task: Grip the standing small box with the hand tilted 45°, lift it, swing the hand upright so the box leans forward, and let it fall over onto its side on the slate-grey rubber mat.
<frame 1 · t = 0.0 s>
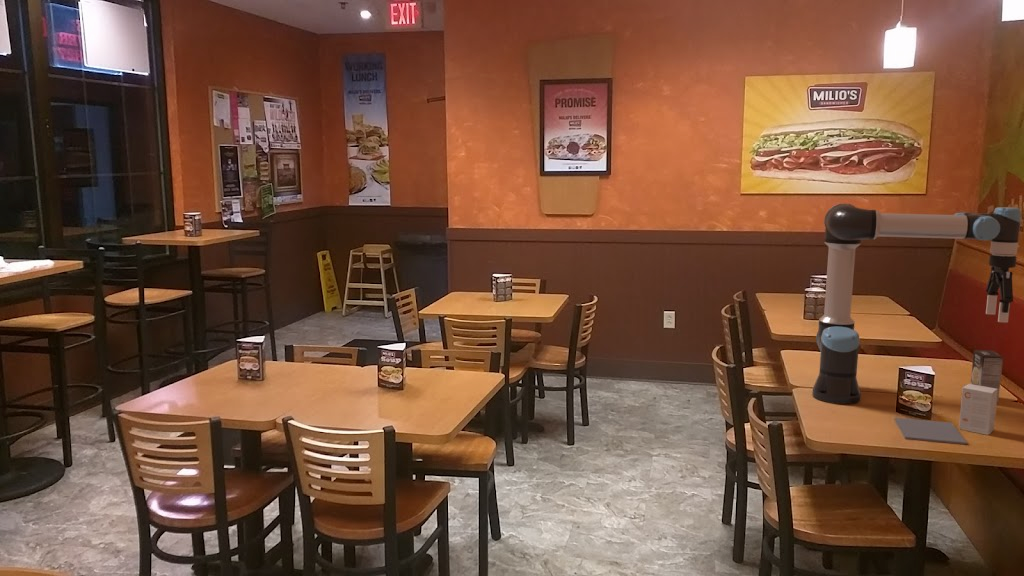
hand: (996, 318, 262), 28 cm above the table, tool pointing down, fingers open, 13 cm apart
small box: (976, 430, 237), on the table
slate mat: (928, 431, 235), on the table
coffee box: (983, 399, 267), on the table
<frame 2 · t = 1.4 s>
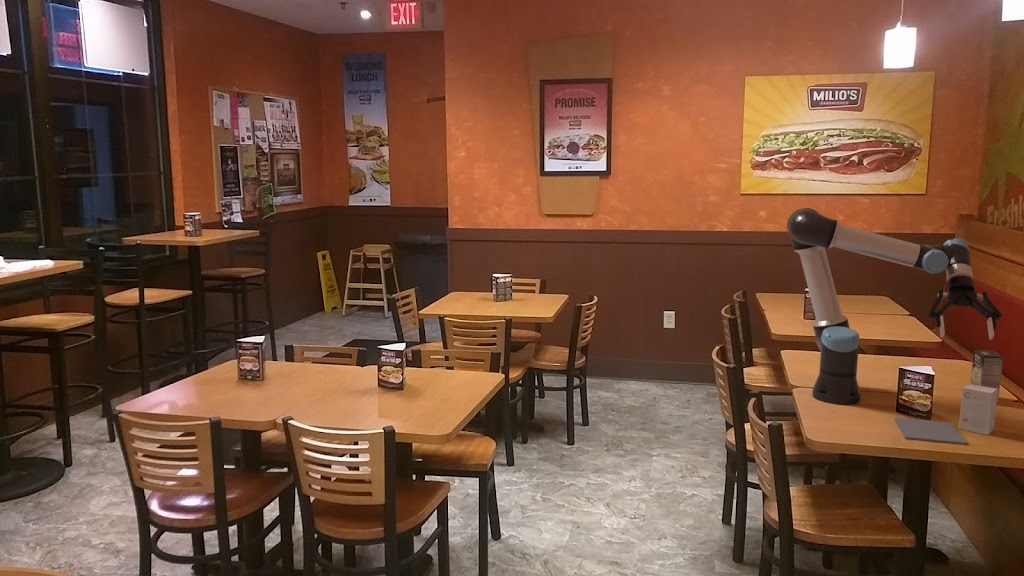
hand: (967, 336, 246), 25 cm above the table, tool tilted 45°, fingers open, 13 cm apart
nothing on the table moved.
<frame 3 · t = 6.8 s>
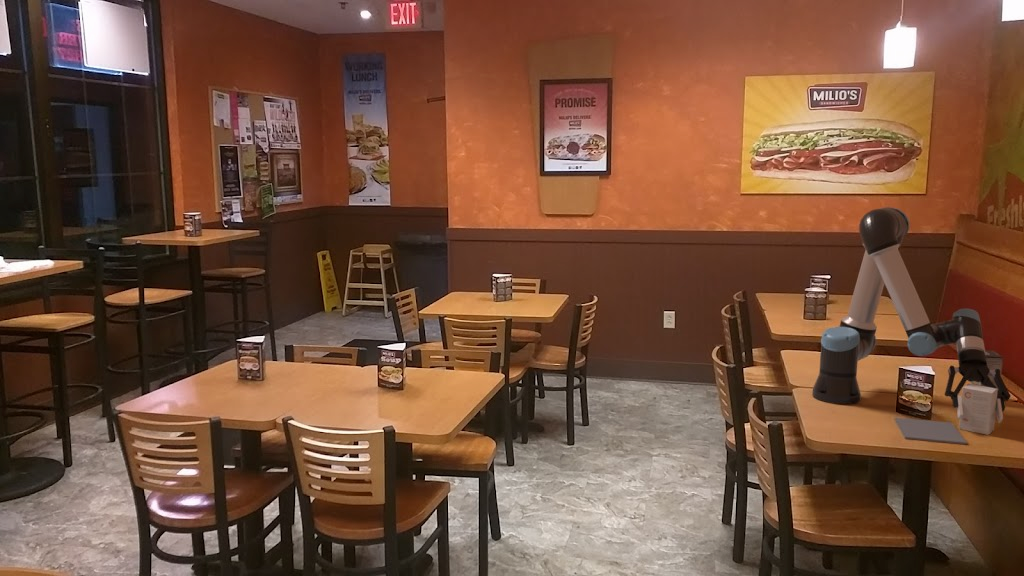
hand: (980, 418, 233), 4 cm above the table, tool tilted 45°, fingers closed on small box, 10 cm apart
small box: (976, 430, 237), on the table, touching gripper
everything else where it was.
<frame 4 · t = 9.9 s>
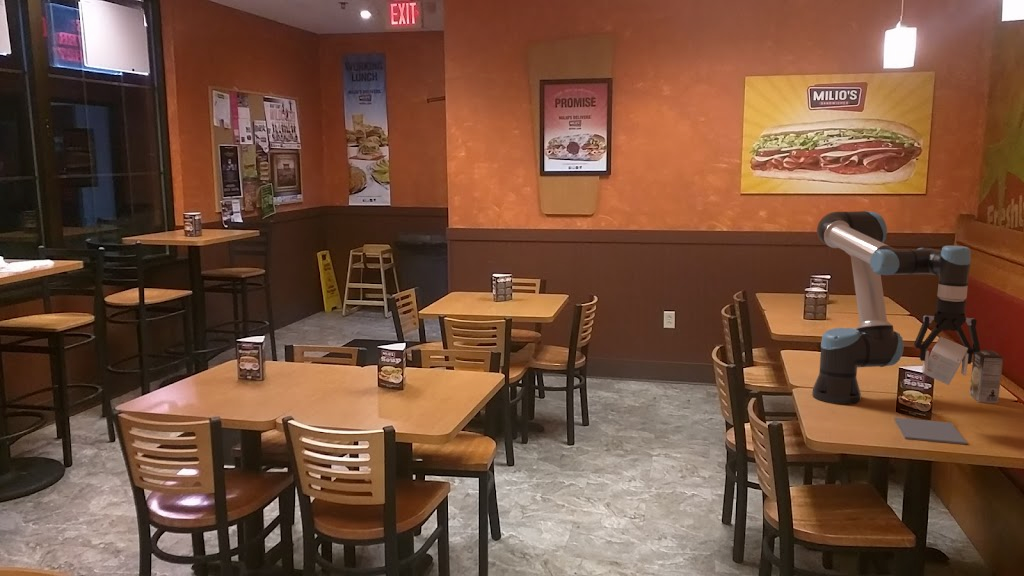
hand: (944, 372, 234), 17 cm above the table, tool pointing down, fingers closed on small box, 10 cm apart
small box: (939, 372, 240), point 16 cm above the table, touching gripper
everything else where it was.
when the fingers open (6 cm above the table, at t = 13.0 s): small box drops 1 cm, resting on slate mat.
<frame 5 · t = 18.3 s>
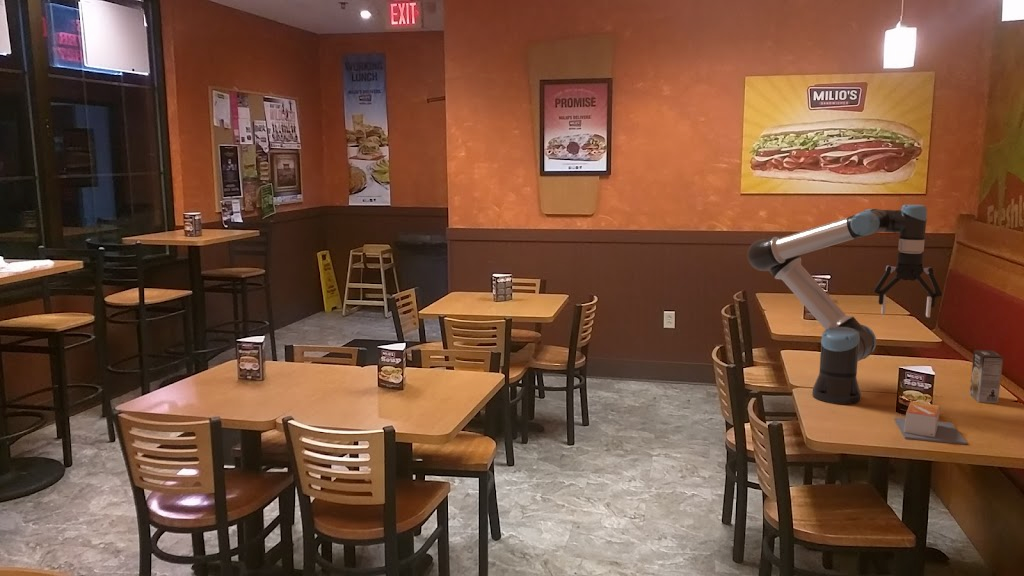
hand: (905, 315, 262), 29 cm above the table, tool pointing down, fingers open, 13 cm apart
small box: (924, 412, 241), point 4 cm above the table, touching slate mat
everything else where it was.
at the end: small box tilted 90°; small box inside the target area (6.0 cm from its centre), point 3.8 cm above the table; the gripper is holding nothing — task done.
